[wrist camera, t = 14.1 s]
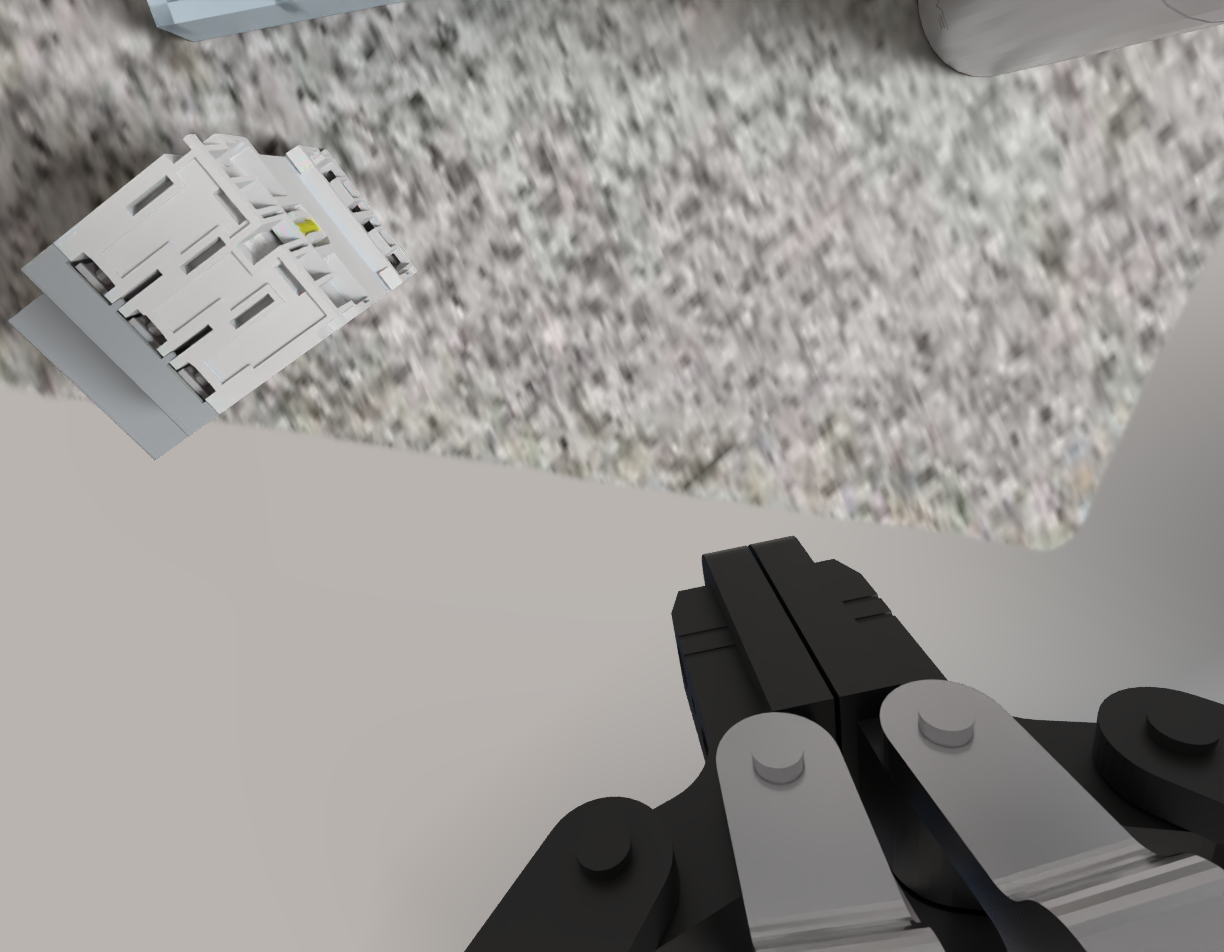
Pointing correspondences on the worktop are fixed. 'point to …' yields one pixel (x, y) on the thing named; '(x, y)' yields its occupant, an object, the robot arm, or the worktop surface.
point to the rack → (244, 14)
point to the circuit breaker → (205, 282)
